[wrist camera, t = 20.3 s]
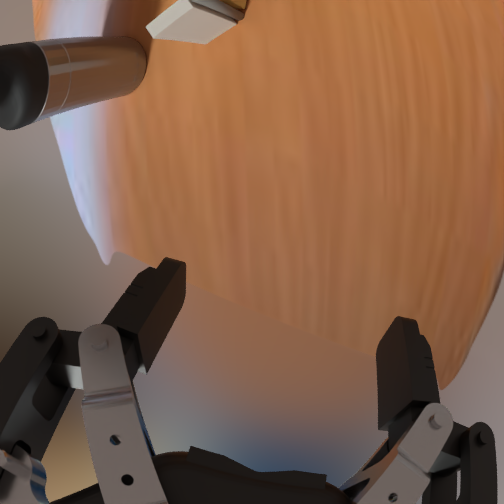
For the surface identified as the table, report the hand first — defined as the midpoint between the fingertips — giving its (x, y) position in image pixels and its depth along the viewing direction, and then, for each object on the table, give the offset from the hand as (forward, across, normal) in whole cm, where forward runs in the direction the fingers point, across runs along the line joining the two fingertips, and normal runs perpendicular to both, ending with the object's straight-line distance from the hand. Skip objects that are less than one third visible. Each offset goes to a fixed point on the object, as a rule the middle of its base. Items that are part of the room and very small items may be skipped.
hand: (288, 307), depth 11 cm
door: (+30, +12, -23) cm, 39 cm away
